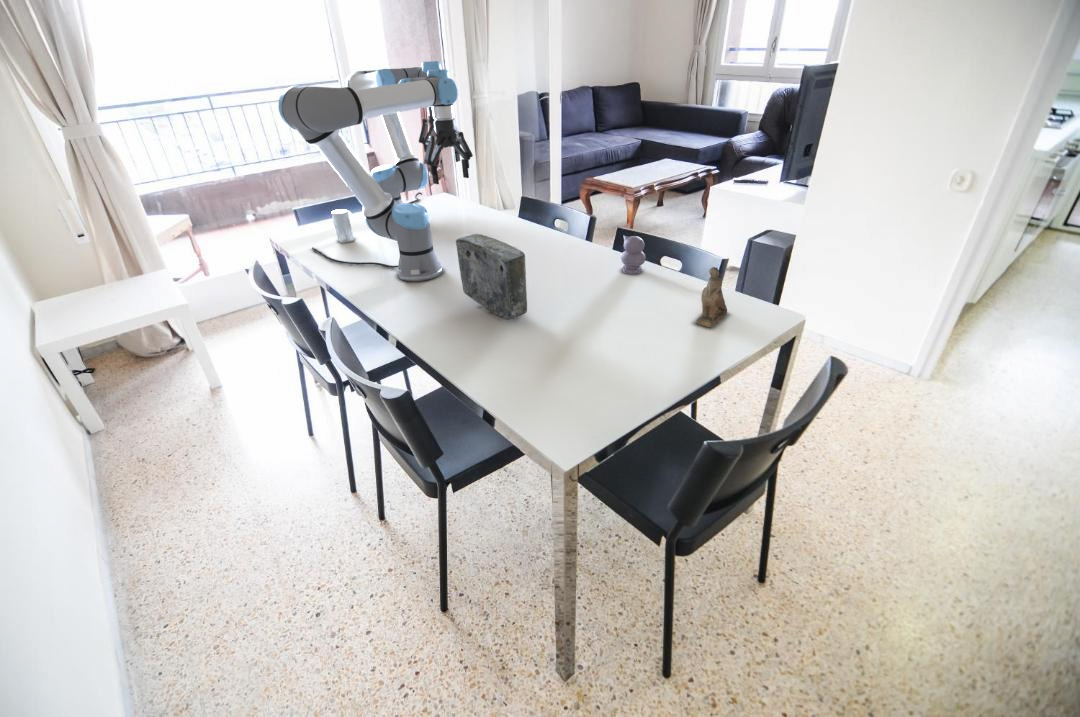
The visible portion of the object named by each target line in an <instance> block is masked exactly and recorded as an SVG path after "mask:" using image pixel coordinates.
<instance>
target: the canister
mask: <svg viewBox="0 0 1080 717" xmlns="http://www.w3.org/2000/svg"><path fill="white" fill-rule="evenodd" d="M331 217H332V222H333V225H334V229H335V233H336V237H337V241H338V243H341V244H343V243H344V244H345V243H350V242H351V243H352V242H354V241H355V238H354V233H353V229H352V225H351V221H350V216H349V212H348V210H347V209H346V208H345V209H344V208H343V209H335V210H332V211H331Z"/></svg>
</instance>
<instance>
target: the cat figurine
mask: <svg viewBox="0 0 1080 717" xmlns="http://www.w3.org/2000/svg"><path fill="white" fill-rule="evenodd" d="M623 249H624V250H623V252H622V253H621V255H620V260H621V262H622V264H623V265H622V273H624V274H628V275H637V274H640V273H642V265H644V264H645V262H646V254H645V253H644V252H643V251H644V249H645V242H644V239H642V238H641V236H637V235H631V236H627V235H624V234H623Z"/></svg>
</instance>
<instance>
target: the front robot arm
mask: <svg viewBox="0 0 1080 717" xmlns="http://www.w3.org/2000/svg"><path fill="white" fill-rule="evenodd" d="M458 97H459V87H458V85H457V83H456V81H455V80H454V79H452V78H451V76H450V71H449V70H448V69H445V68H444V69H443V68H441V69H439V70H428V72H427V77H418V78H405V79H401V80H400V81H399V84H393V85H386V86H379V87H373V88H366V89H359V90H354V89H353V88H351V87H346V86H345V87H344V86H343V87H331V86H330V87H329V86H320V85H301V84H295V85H292V86H289V87H287V88H285V89H284V90H283V91H282V92H281V94H280V95H279V98H278V106H277V108H278V112H279V115H280V117H281V119H282V120H283V122H284V123H285V124H286V125H287V126H288V127H290V128H291V129H293V130H295V131H297V132H298V133H299V134H300V136H301V137H302V138H303V139H304V141H305V142H306V143H307V144H308V145H309V146H313V147H314V146H315V147H316V148H317V149H318V150H319V152H320V153H321V155H322V156H323V157H324V159H325V160H326V161H327V162H328V164H329V165H330V166H331V167H332V169H333V170H334V171H335V172H336V174H337V175H338V176H339V178H340V179H341V180H342V181H343V183H344V184H345V185H346V187H347V188H348V189H349V190H350V192H351V194H352V195H354V197H355V198H356V200H357V201H358V202H359V203H360V204H361V206H362V215H363V216H364V217H365V223H366V225H367V227H368V228H369V230H371V232H373V233H374V234H376V235H377V236H380V237H382V238H386V239H389V240H393V241H396V242H397V247H398V251H399V259H398V265H389V264H385V263H381V262H373V261H368V262H366V261H365V262H360V261H359V262H357V261H345V260H339V259H335V258H332V257H330V256H328V255H326V254H325V253H324V252H322V251H321V250H319V249H317V248H315V247H314V246H313V247H311V250H313V251H315V252H317V253H319V254H320V255H322V256H323V257H324V258H326V259H328V260H330V261H333V262H335V263H339V264H347V265H375V266H382V267H385V268H391V269H396V268H397V276H398V278H399V279H400V280H402V281H406V282H413V283H414V282H425V281H429V280H432V279H435V278H438V277H439V276H440V275H441V274H442V273H443V268H442V264H441V263H440V260H439V259H438V256H437V254H436V252H435V250H434V243H433V236H432V230H431V229H432V228H431V219H430V215H429V212H428V210H427V208H426V207H425V206H423V205H422V204H418V203H409V202H405V203H404V202H403V204H399V205H398V204H397V202H396V201H395V200H394V198H393V197H392V195H391V194H389V193H384V192H383V190H382V189H381V188H380V186H379V185H378V183H377V182H376V181H375V179H374V178H373V176H372V175H371V171H369V169H368V168H367V166H366V165H365V163H363V161H362V160H361V158H360V157H359V155H358V154H357V153H356V151H355V149H354V148H353V147H352V145H351V144H350V143H349V141H348V140H347V138H346V137H345V136H344V134H343V133H342V132H341V130H342V129H345V128H349V127H352V126H358V125H361V124H362V123H363V122H364V120H368V119H372V118H378V117H381V116H383V115H388V114H393V113H398V112H399V113H403V112H408V111H413V110H417V109H423V108H428V106H432V112H433V118H434V119H435V120H434V128H435V131H434V133H435V135H432V136H430V135H429V136H428V146H427V150H426V152H425V154H424V158H423V164H424V165H427V166H428V167H429V174H430V175H431V177H432V184H434V185H440V181H439V174H438V173H439V172H438V166H437V164H436V162H437V161H438V158H439V156H440V154H441V152H442V150H444V149H446V148H451V147H452V148H453V149H454V148H455V149H456V151H457V152H458V153H459V154H460V157H461V158H462V159H461V168H462V170H461V171H462V177H463V178H465V179H469V178H470V174H469V169H470V160H471V158H473V157H474V155H473V153H472V151H471V149H470V146H469V145H468V142H467V141H466V139H465V135H464V132H463V131H460V132H457V133H456V132H455V130H456V127H455V123H456V119H455V110H454V103H456V101H457V100H458ZM453 118H454V119H455V120H454V119H453ZM456 138H458V140H459V142H460V146H459V144H458V143H457V142H456Z"/></svg>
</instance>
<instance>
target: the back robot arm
mask: <svg viewBox="0 0 1080 717" xmlns="http://www.w3.org/2000/svg"><path fill="white" fill-rule="evenodd" d="M439 69H442V64H441V62H440V61H438V60H435V61H433V60H432V61H422V63H421V67H420V66H414V67H401V68H381V69H374V70H357V71H353V72H351V73H350V74H348V75H347V77H346V79H345V87H351V88H353V89H354V90H359V89H366V88H373V87H379V86H386V85H393V84H399V81H400V80H401V79H405V78H418V77H427V72H428V70H439ZM427 113H428V118H422V126H421V130H420V134H419V137H418V143H419V144H422V145H423V150H424V153H426V150H427V146H428V136H429V135H430V136H434V133H435V128H434V120H435V119H434V118H433V112H432V106H428V107H427ZM380 117H381V120H382V123H383V125H384V128H385V132H386V134H387V137H388V140H389V143H390V145H391V149H392V152H393V154H394V158H395V162H394V164H392V163H388V164H383V165H379V166H376V167H374V168H373V169H371V171H370V174H371V175H372V176H373V178H374V179H375V181H376V182H377V183H378V185H379V186H380V188H381V189H382V190H383V192H384V193H389V194H391V195H392V197H393V198H394V200H395V201H396V202H397V204H398V205H399V204H404V202H403V201H402V195H401V194H403V193H407V192H412V191H419V190H421V189H424V188H426V186H427V185H428V181H429V172H428V168H427V166H426V164H424V162H420V161H419V157H417V156H415V155H414V152H413V149H412V146H411V143H410V140H409V137H408V134H407V130H406V128H405V126H404V122H403V120H402V117H401V112H398V113H393V114H388V115H383V116H380ZM453 119H454V120H455V121H456V119H455V117H454V118H453ZM429 125H430V127H429ZM428 127H429V129H428ZM455 127H456V130H455V132H456V133H457V132H461V131H460V130H459V128H458V125H457V124H456V122H455ZM456 142H457V143H458V144H459V146H460V147H461V144H460V142H459V140H458V138H456ZM453 149H454V159H455V163H458V162H460V161H461V155H460V154H459V153H458V152H457V151H456V149H455V148H454V147H453ZM419 195H420V196H422V195H423V192H417V193H416V194H415V195H414V199H415V200H412V201H409V202H408V203H411V204H415V203H416V202H418V201H419V198H418V196H419Z"/></svg>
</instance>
